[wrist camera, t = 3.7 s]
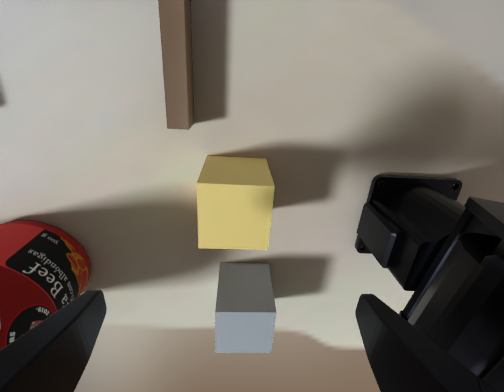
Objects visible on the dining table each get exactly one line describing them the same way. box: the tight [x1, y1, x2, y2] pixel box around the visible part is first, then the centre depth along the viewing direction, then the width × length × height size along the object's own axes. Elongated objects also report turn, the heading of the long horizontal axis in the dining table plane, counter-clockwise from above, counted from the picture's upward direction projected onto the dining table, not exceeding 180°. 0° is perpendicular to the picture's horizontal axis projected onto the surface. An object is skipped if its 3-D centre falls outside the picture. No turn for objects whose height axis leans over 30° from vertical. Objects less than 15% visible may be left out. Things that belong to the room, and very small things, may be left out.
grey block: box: [215, 263, 276, 353], centre depth 21 cm, size 4×4×5 cm
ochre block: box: [197, 156, 275, 250], centre depth 17 cm, size 4×4×5 cm
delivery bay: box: [158, 0, 194, 130], centre depth 14 cm, size 14×9×2 cm, turn 86°
